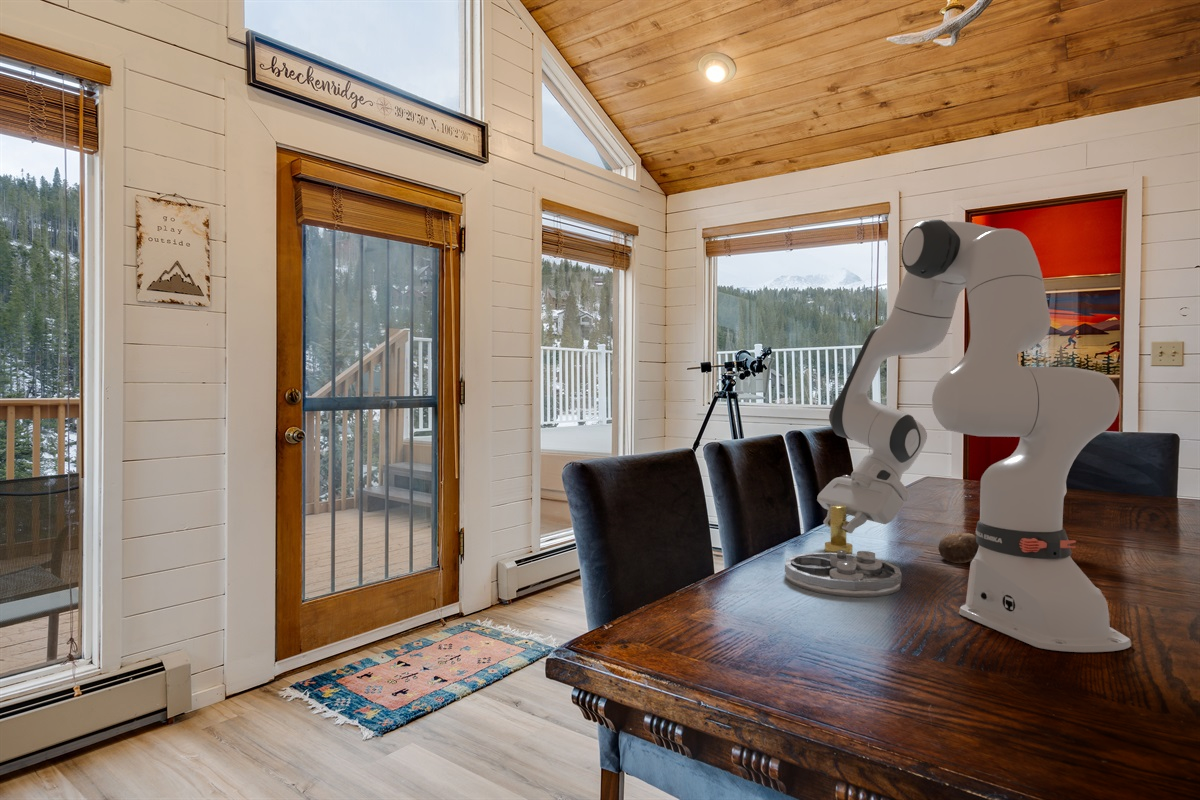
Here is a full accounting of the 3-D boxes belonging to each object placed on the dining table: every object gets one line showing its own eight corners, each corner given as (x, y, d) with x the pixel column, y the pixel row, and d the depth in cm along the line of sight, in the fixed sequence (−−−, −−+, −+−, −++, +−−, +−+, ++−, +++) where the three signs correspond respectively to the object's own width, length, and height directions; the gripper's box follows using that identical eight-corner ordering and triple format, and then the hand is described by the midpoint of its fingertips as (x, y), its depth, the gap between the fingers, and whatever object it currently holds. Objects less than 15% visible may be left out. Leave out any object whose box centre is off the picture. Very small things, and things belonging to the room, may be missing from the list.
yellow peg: (856, 555, 144) (856, 509, 144) (830, 555, 143) (830, 509, 143) (846, 549, 149) (846, 504, 149) (820, 549, 149) (820, 505, 149)
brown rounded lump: (977, 541, 143) (966, 519, 142) (994, 564, 136) (982, 542, 134) (940, 556, 146) (928, 535, 144) (955, 580, 138) (942, 558, 137)
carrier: (922, 596, 117) (923, 564, 116) (808, 598, 115) (808, 566, 115) (869, 564, 137) (869, 538, 136) (771, 566, 135) (771, 539, 135)
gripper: (832, 465, 158) (797, 509, 155) (900, 476, 139) (861, 527, 136) (848, 483, 160) (813, 527, 157) (917, 497, 141) (879, 548, 137)
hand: (836, 528), depth 146 cm, fingers open, 5 cm apart
